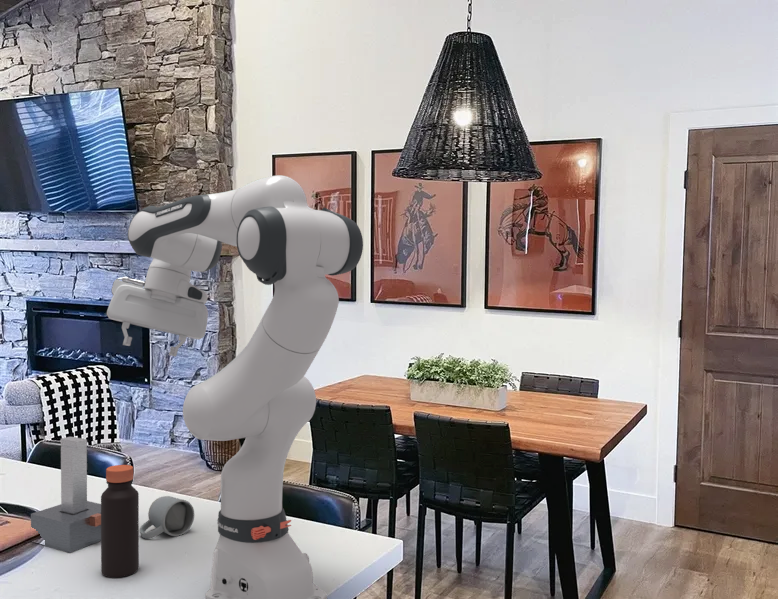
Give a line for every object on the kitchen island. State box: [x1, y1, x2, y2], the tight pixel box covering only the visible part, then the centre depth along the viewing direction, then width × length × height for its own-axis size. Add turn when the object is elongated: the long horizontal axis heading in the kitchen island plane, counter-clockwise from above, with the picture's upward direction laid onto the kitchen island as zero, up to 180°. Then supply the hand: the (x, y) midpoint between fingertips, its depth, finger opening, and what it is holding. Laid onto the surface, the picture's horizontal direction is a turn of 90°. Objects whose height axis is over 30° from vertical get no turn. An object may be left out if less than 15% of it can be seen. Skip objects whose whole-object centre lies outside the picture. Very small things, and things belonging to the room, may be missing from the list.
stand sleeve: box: [30, 500, 101, 554], centre depth 164 cm, size 14×12×6 cm
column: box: [60, 436, 88, 515], centre depth 164 cm, size 5×4×21 cm
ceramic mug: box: [139, 495, 195, 540], centre depth 169 cm, size 11×8×8 cm
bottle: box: [100, 464, 140, 579], centre depth 148 cm, size 7×7×20 cm
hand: (149, 350), depth 161 cm, fingers open, 8 cm apart
